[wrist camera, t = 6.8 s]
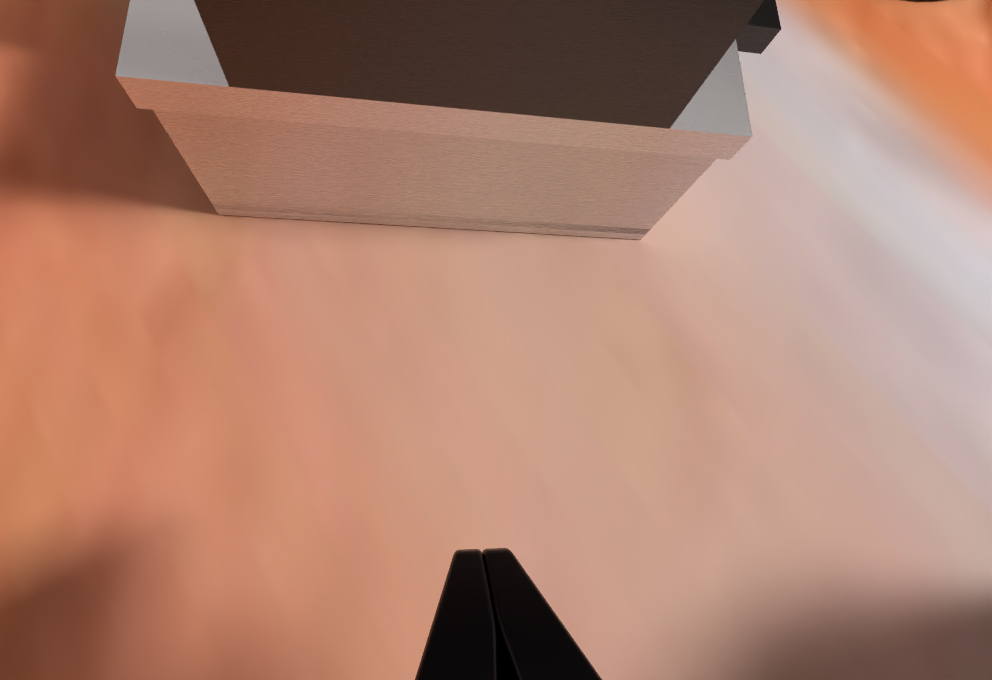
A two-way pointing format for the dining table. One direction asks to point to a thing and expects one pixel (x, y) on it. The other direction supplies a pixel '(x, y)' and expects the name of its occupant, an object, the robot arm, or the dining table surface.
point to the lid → (455, 67)
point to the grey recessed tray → (436, 173)
